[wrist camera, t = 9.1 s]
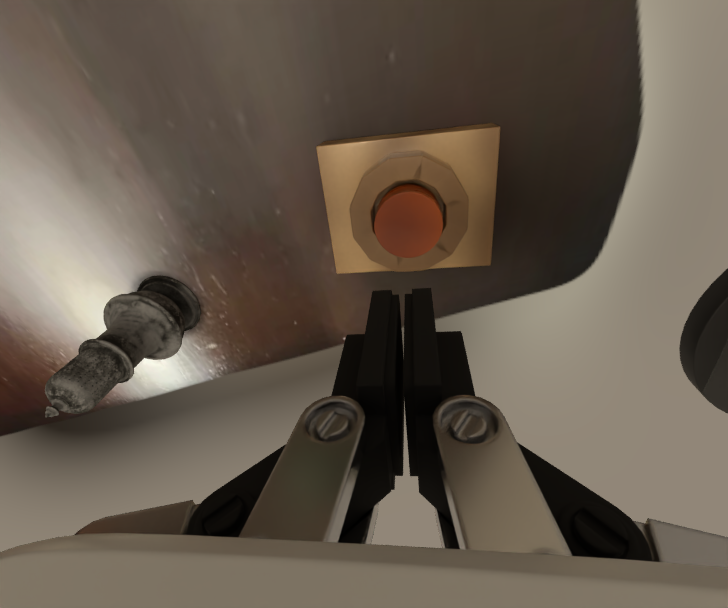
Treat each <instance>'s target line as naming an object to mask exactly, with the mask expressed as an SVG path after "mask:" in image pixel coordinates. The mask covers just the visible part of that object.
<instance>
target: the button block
mask: <svg viewBox="0 0 728 608" xmlns="http://www.w3.org/2000/svg"><path fill="white" fill-rule="evenodd" d="M499 141H500V126H498V125H495V124H493V123H487V124H478V125H468V126H459V127H450V128H441V129H432V130H423V131H414V132H405V133H396V134H387V135H377V136H368V137H359V138H350V139H341V140H332V141H324V142H323V143H321V144H319V145H318V146H316V149H317V155H318V162H319V168H320V174H321V180H322V186H323V192H324V198H325V204H326V210H327V216H328V223H329V229H330V235H331V241H332V247H333V253H334V259H335V265H336V271H337V274H339V273H358V272H376V271H397V272H404V271H423V270H426V269H432V268H450V267H469V266H487V265H491V255H492V241H493V226H494V212H495V198H496V183H497V169H498V155H499ZM405 184H415V185H419V186H422V187H424V188H426V189H427V190H429V191H430V192H431V193H432V194H433V195H434V196H435V198H436V199H437V201H438V203H439V206H440V210H441V214H442V218H443V230H442V234H441V236H440V238H439V240H438V242H437V243H436V245H435V246H434V247H433V248H432V249H431V250H430V251H428V252H427V253H425V254H423V255H420V256H417V257H412V258H403V257H398V256H395V255H393V254H391V253H389V252H388V251H386V250H385V249H384V248H383V247H382V246H381V244H380V243H379V241H378V240H377V237H376V234H375V230H374V221H375V217H376V213H377V209H378V206H379V203H380V201H381V199H382V198H383V197H384V196H385V194H386V193H388V192H389V191H390V190H391V189H393V188H395V187H397V186H400V185H405Z"/></svg>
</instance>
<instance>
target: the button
mask: <svg viewBox="0 0 728 608" xmlns="http://www.w3.org/2000/svg"><path fill="white" fill-rule="evenodd" d="M374 230H375V234H376V237H377V240H378V241H379V243H380V244H381V246H382V247H383V248H384V249H385V250H386V251H388V252H389V253H391V254H393V255H395V256H398V257H403V258H412V257H417V256H420V255H423V254H425V253H427V252H428V251H430V250H431V249H432V248H433V247H434V246H435V245H436V243H437V242H438V240H439V238H440V236H441V234H442V230H443V218H442V214H441V210H440V206H439V203H438V201H437V199H436V198H435V196H434V195H433V194H432V193H431V192H430V191H429V190H427V189H426V188H424V187H422V186H419V185H415V184H405V185H400V186H397V187H395V188H393V189H391V190H390V191H389V192H388V193H386V194H385V196H384V197H383V198H382V199H381V201H380V203H379V206H378V209H377V213H376V217H375V221H374Z"/></svg>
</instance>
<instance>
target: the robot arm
mask: <svg viewBox="0 0 728 608" xmlns="http://www.w3.org/2000/svg"><path fill="white" fill-rule="evenodd" d="M404 401H405V414H406V427H407V440H408V452H409V467H410V476H418V480H419V493H420V494H421V495H423V496H424V497H425V498H426V499H427V500H428V501H429V502H430V503H431V504H432V505H433V506H434V507H435V516H436V521H437V526H438V530H439V534H440V540H441V545H442V548H426V547H408V546H391V545H372V544H371V542H372V538H373V533H374V528H375V524H376V519H377V515H378V505H379V504H378V502H379V501H381V499H383V498H384V497H385V496H386V495H387V494H388V493H390V492H391V490H394V488H395V487H394V486H395V485H394V484H395V476H403V443H404V442H403V441H404ZM0 608H728V537H724V536H720V535H716V534H711V533H707V532H703V531H699V530H694V529H690V528H686V527H682V526H678V525H673V524H670V523H665V522H661V521H657V520H653V519H649V518H648V519H647V521H646V523H645V524H644V523H640V522H636V521H632V519H631V518H630V517H628V516H627V515H626V514H624V513H623V512H622V511H621V510H619V509H618V508H617V507H616V506H614V505H612V504H611V503H610V502H608V501H606V500H605V499H603V498H602V497H600V496H599V495H597V494H596V493H594V492H593V491H591V490H589V489H588V488H586V487H585V486H583V485H582V484H580V483H579V482H577V481H576V480H574V479H573V478H571V477H570V476H568V475H567V474H565V473H563V472H562V471H560V470H559V469H557V468H556V467H554V466H553V465H551V464H550V463H548V462H547V461H545V460H543V459H542V458H540V457H539V456H537V455H536V454H534V453H533V452H531V451H530V450H528V449H526V448H525V447H524V446H522V445H520V444H519V443H517V441H516V439H515V437H514V435H513V434H512V431H511V429H510V427H509V425H508V423H507V421H506V419H505V417H504V416H503V414H502V413H501V412H500V410H499V409H498V408H497V407H496V406H495V405H493V404H492V403H491V402H489V401H487V400H485V399H482V398H480V397H476V396H475V392H474V388H473V383H472V379H471V374H470V369H469V365H468V360H467V355H466V351H465V347H464V341H463V336H462V333H461V331H457V332H456V331H454V332H436V329H435V320H434V310H433V301H432V292H431V288H423V289H412V294H405V320H404V358H403V344H402V330H401V316H400V302H399V294H398V295H392V291H391V290H381V291H373V292H372V297H371V303H370V309H369V314H368V320H367V326H366V332H365V334H354V335H347V337H346V339H345V343H344V348H343V351H342V356H341V360H340V364H339V368H338V372H337V376H336V380H335V384H334V388H333V392H332V396H329V397H325V398H322V399H320V400H318V401H316V402H314V403H312V404H311V405H310V406H309V407H307V408H306V409H305V411H304V412H303V414H302V415H301V416H300V418H299V420H298V422H297V424H296V426H295V428H294V430H293V432H292V434H291V436H290V438H289V440H288V442H287V444H286V445H284V446H283V447H281V448H280V449H278V450H276V451H275V452H274V453H272V454H270V455H269V456H267V457H266V458H265V459H263V460H262V461H260V462H259V463H257V464H255V465H254V466H252V467H251V468H249V469H248V470H246V471H245V472H243V473H242V474H240V475H239V476H237V477H236V478H234V479H233V480H231V481H230V482H228V483H227V484H225V485H224V486H222V487H221V488H219V489H218V490H216V491H215V492H213V493H212V494H211V495H210V496H208V497H207V498H206V499H205V500H204V501H202V503H201V504H197V505H195V503H194V502H193V500H190V501H186V502H180V503H175V504H170V505H165V506H160V507H155V508H150V509H144V510H140V511H134V512H129V513H125V514H119V515H114V516H109V517H105V518H102V519H99V520H96V521H93V522H91V523H90V524H88V525H87V526H85V527H84V528H82V529H81V530H79V531H78V532H77V533H76V534H75V535H72V536H64V537H56V538H52V539H47V540H42V541H37V542H33V543H29V544H25V545H20V546H17V547H14V548H11V549H8V550H5V551H2V552H0Z"/></svg>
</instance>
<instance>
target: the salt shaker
mask: <svg viewBox="0 0 728 608" xmlns="http://www.w3.org/2000/svg"><path fill="white" fill-rule="evenodd" d="M200 315H201V310H200V305H199V303H198V300H197V298H196V297H195V295H194V294H193V293H192V291H191V290H189V289H188V288H187V287H186V286H185V285H184V284H182V283H180V282H179V281H177V280H175V279H172V278H169V277H164V276H153V277H150V278H147V279H145V280H144V281H143V282H142V283H141V284H140V286H139V288H138V290H137V292H132V293H129V294H121V295H118V296H116V297H113V298H112V299H111V300H110V301H109V302H108V303H107V304H106V306H105V309H104V322H105V325H106V328H107V330H106V331H105V332H104V333H103V334H101V335H100V336H99V337H98V338H96V339H89V340H87V341H84V342H83V343H82V344H81V345H80V347H79V355H77V356H76V357H75V358H74V359H72V360H71V361H70V362H69V363H68V364H66V365H65V366H64V367H63V368H61V369H60V370H59V371H58V372H56V373H55V374H54V375H53V376H52V377H51V378H50V379H49V380H48V381H47V383H46V387H45V393H46V396H47V398H48V400H49V401H50V402H51V404H52V406H51V407H50V406H49V407H46V410H47V411H46V415H45V417H52V416H57V415H58V414H59V410H61V411H64V412H68V413H74V414H77V413H83V412H87V411H89V410H90V409H92V408H93V407H95V406H96V405H97V404H98V403H99V402H100V401H101V400H102V399H103V398H104V397H105V396H106V395H107V394H108V393H109V391H110V390H111V389H112V388H113V387H114V386H115V385H116V384H117V383H123V382H126V381H128V380H129V379H131V378H132V376H133V374H134V368H135V367H136V366H137V365H138V364H139V363H140V362H141V361H142V359H143V358H147V359H153V360H158V359H166V358H169V357H172V356H173V355H174V354H175V353H177V352H178V350H179V348H180V347H181V344H182V338H183V335H184V331H187V330H189V329H192V328H193V327H194V326H195V325H196V324H197V323H198V321H199V319H200Z"/></svg>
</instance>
